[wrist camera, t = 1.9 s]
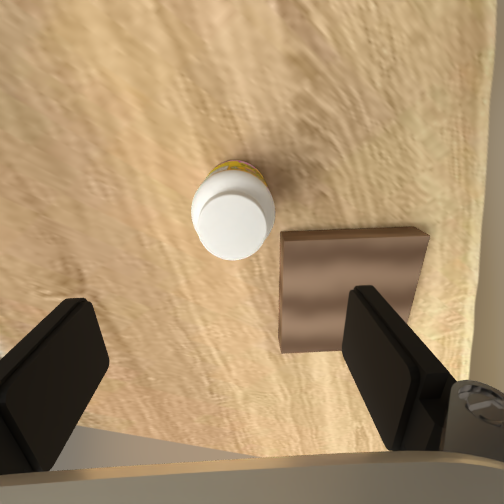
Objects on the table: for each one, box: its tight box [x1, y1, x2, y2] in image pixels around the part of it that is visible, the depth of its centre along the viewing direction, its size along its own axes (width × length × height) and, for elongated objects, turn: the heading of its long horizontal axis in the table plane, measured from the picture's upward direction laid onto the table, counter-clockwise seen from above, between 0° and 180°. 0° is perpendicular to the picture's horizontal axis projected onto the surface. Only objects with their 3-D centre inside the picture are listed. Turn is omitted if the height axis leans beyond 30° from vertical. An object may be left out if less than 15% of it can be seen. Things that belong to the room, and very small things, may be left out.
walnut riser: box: [278, 227, 430, 354], centre depth 34 cm, size 16×16×3 cm
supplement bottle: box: [191, 160, 275, 260], centre depth 24 cm, size 7×7×13 cm
